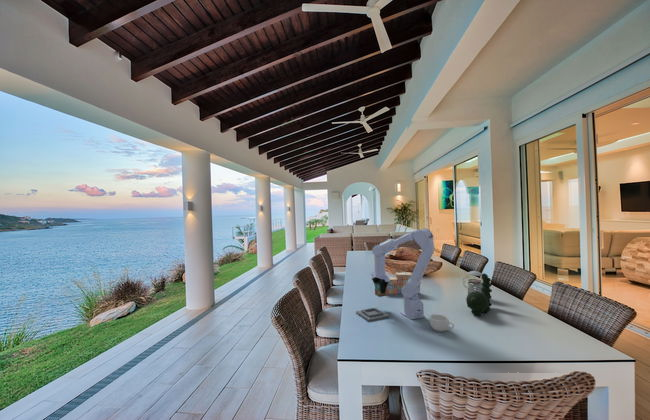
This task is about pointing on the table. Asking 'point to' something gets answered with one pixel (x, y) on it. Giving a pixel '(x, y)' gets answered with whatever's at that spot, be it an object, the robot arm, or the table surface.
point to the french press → (474, 280)
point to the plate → (372, 314)
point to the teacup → (440, 322)
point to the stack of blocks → (397, 283)
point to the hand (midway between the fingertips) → (380, 292)
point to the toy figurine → (480, 298)
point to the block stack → (378, 290)
